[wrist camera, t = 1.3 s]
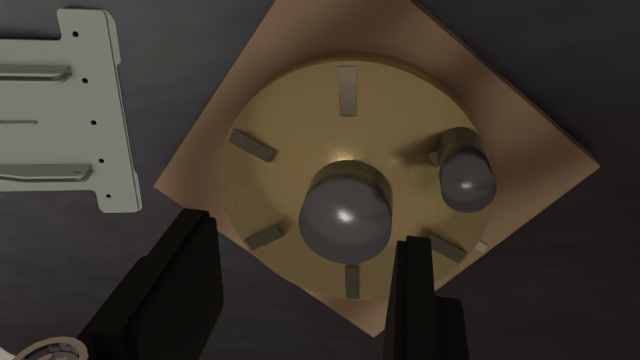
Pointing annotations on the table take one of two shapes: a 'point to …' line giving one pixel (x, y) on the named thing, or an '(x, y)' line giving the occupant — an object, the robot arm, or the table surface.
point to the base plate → (415, 48)
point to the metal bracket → (67, 113)
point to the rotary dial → (355, 173)
